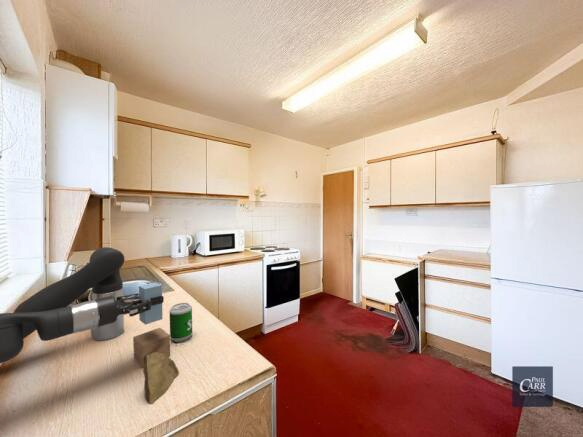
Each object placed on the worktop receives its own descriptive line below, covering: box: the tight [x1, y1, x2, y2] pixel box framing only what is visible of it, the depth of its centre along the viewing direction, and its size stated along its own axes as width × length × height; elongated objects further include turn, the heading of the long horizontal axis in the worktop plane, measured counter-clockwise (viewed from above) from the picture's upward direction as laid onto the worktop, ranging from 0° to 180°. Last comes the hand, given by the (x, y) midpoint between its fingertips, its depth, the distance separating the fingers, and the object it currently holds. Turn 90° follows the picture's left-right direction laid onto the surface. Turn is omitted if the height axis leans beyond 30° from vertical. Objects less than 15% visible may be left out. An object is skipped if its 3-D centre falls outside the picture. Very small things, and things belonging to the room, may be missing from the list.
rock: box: [142, 352, 180, 405], centre depth 65 cm, size 11×9×10 cm
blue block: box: [138, 282, 163, 326], centre depth 77 cm, size 5×5×11 cm
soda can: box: [169, 302, 193, 343], centre depth 89 cm, size 8×8×12 cm
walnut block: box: [132, 327, 171, 369], centre depth 77 cm, size 8×8×7 cm
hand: (159, 297), depth 79 cm, fingers closed on blue block, 5 cm apart
